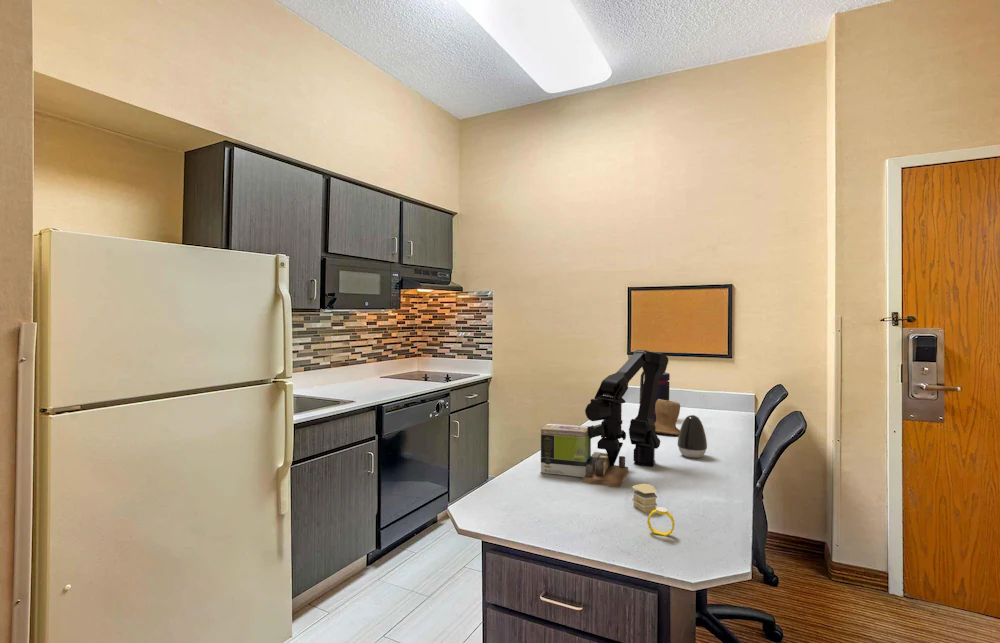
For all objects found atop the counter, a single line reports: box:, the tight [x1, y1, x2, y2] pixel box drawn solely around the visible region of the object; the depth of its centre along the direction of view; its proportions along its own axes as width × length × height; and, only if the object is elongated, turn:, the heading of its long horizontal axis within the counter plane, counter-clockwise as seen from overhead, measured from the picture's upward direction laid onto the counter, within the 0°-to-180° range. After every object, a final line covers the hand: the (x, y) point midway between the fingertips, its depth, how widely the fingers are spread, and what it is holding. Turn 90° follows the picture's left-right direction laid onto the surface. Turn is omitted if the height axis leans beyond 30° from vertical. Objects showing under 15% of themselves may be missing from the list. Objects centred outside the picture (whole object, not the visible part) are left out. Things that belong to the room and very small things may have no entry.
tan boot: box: [654, 399, 681, 435], centre depth 223 cm, size 15×12×15 cm
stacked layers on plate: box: [631, 483, 658, 513], centre depth 135 cm, size 10×9×6 cm
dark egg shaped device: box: [677, 414, 708, 459], centre depth 185 cm, size 10×10×15 cm
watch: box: [646, 506, 676, 537], centre depth 118 cm, size 6×3×6 cm, turn 67°
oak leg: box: [595, 455, 609, 476], centre depth 161 cm, size 11×3×4 cm, turn 160°
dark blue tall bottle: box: [639, 370, 670, 423], centre depth 247 cm, size 14×12×30 cm
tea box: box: [540, 423, 592, 478], centre depth 165 cm, size 15×10×15 cm
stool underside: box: [583, 455, 629, 488], centre depth 160 cm, size 11×17×5 cm, turn 158°
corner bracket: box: [590, 451, 612, 470], centre depth 165 cm, size 6×6×4 cm
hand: (612, 465), depth 163 cm, fingers closed
